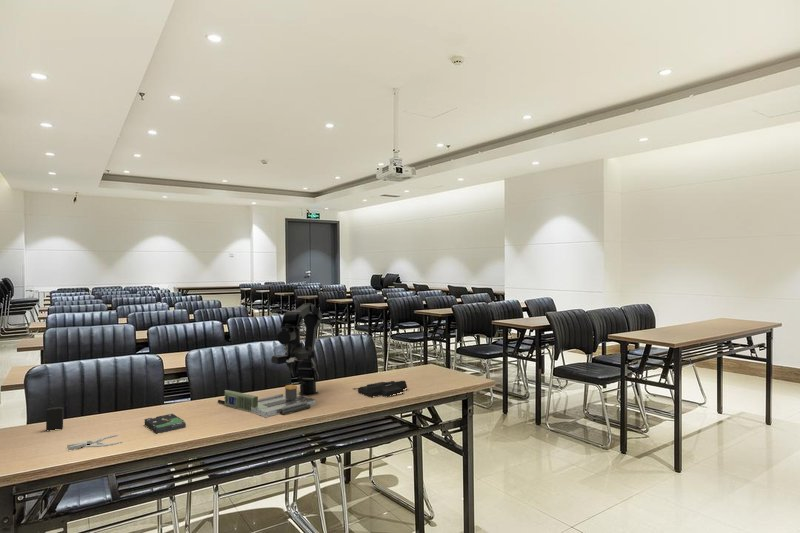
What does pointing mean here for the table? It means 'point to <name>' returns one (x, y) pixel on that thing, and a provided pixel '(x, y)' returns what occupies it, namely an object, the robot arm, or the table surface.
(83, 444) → the pliers
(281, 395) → the grey rounded rod
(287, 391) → the lever
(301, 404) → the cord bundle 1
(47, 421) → the ink cartridge
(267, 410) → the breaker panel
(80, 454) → the table surface
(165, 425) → the disk drive
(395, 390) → the electronic device
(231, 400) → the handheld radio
